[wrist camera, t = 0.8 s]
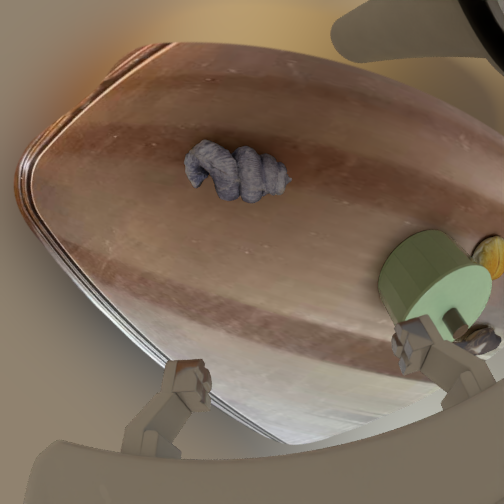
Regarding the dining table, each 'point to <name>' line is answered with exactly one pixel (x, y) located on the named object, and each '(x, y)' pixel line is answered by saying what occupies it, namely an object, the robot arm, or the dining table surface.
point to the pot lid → (454, 300)
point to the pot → (417, 269)
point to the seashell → (236, 171)
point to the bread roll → (491, 256)
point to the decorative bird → (480, 342)
